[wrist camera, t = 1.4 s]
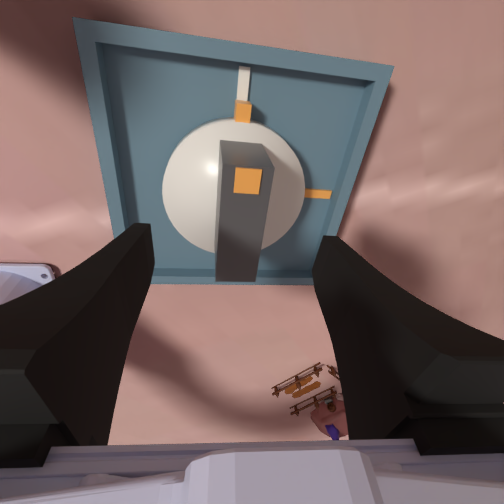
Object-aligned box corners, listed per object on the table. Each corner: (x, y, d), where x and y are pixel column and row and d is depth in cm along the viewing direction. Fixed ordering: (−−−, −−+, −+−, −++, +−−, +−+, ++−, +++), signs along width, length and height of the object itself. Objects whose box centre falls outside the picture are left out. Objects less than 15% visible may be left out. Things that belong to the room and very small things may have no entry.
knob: (285, 245, 23) (304, 295, 18) (168, 241, 21) (157, 295, 17) (316, 108, 17) (355, 132, 12) (159, 90, 15) (139, 109, 11)
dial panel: (310, 267, 27) (318, 285, 25) (129, 263, 24) (122, 283, 22) (373, 63, 17) (394, 66, 15) (90, 20, 15) (71, 16, 13)
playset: (432, 297, 32) (479, 349, 27) (470, 360, 42) (509, 408, 36) (260, 389, 40) (269, 445, 34) (327, 425, 49) (341, 473, 44)
